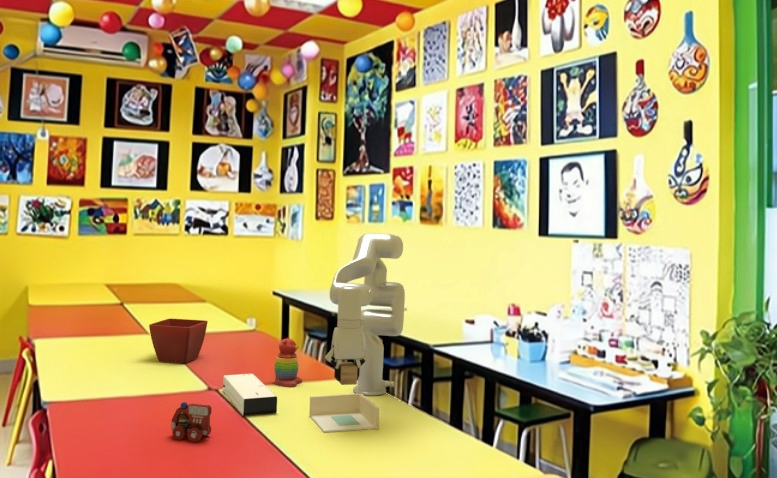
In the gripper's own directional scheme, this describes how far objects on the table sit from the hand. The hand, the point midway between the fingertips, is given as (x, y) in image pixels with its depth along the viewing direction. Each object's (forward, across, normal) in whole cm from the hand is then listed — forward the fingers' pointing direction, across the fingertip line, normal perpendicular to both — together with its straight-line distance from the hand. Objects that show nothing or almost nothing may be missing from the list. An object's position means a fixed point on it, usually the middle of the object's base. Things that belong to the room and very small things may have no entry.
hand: (346, 379), depth 219 cm
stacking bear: (+14, +7, -54) cm, 56 cm away
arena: (+14, 0, -1) cm, 14 cm away
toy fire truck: (+15, +48, +3) cm, 51 cm away
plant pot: (+14, +45, -104) cm, 114 cm away
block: (+1, 0, 0) cm, 1 cm away
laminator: (+15, +27, -31) cm, 44 cm away
